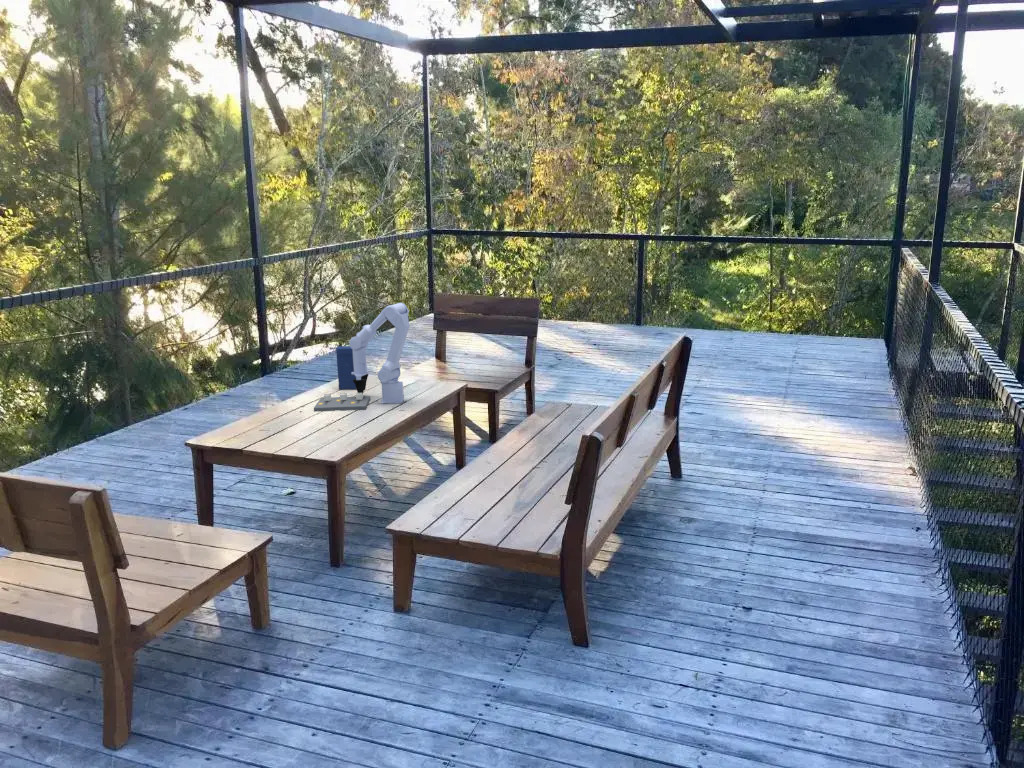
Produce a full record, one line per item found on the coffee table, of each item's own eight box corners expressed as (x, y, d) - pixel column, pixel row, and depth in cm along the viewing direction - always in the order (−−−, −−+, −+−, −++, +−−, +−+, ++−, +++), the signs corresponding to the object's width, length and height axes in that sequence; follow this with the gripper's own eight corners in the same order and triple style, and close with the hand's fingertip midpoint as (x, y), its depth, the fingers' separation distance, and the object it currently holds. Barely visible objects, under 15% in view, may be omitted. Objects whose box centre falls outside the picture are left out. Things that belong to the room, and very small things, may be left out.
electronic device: (360, 387, 421) (358, 345, 417) (358, 389, 416) (355, 347, 412) (341, 387, 422) (338, 345, 418) (338, 389, 417) (335, 348, 413)
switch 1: (331, 399, 392) (330, 393, 391) (330, 400, 389) (329, 394, 388) (325, 399, 392) (325, 393, 391) (324, 400, 389) (323, 394, 388)
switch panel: (370, 399, 397) (370, 396, 397) (365, 409, 380) (365, 406, 379) (321, 401, 396) (320, 397, 396) (314, 411, 379) (313, 407, 379)
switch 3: (362, 398, 392) (362, 392, 392) (362, 399, 389) (361, 393, 389) (357, 398, 392) (356, 392, 392) (356, 399, 389) (355, 393, 389)
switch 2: (347, 398, 392) (346, 392, 391) (346, 400, 389) (345, 394, 388) (341, 398, 392) (340, 392, 391) (340, 400, 389) (339, 394, 388)
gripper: (353, 359, 402) (355, 388, 405) (348, 366, 388) (350, 396, 391) (368, 359, 402) (370, 388, 405) (364, 365, 388) (366, 395, 391)
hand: (361, 392), depth 398 cm, fingers open, 7 cm apart
